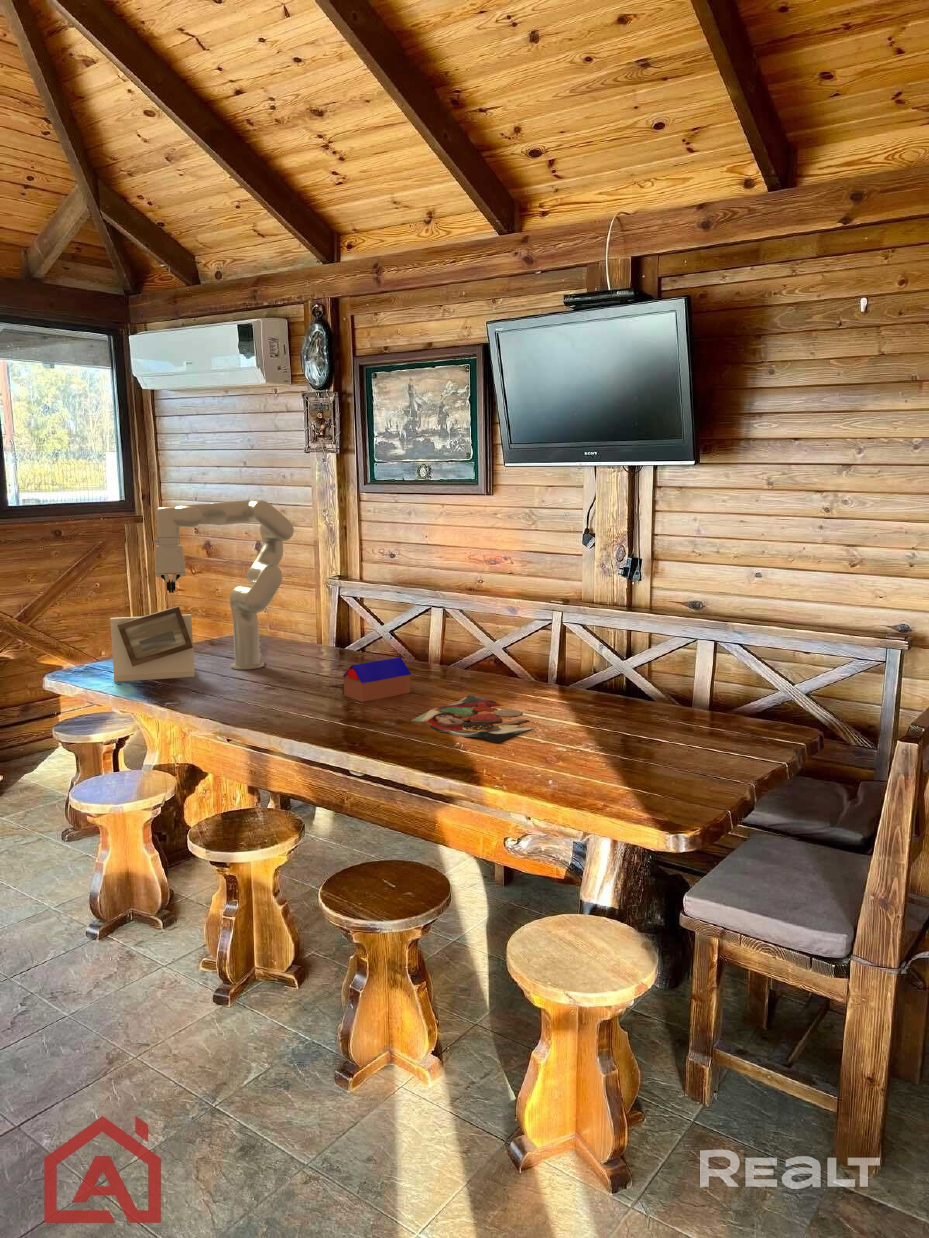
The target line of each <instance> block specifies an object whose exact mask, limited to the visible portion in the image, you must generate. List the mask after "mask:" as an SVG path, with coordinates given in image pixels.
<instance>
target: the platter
mask: <svg viewBox="0 0 929 1238" xmlns="http://www.w3.org/2000/svg"><path fill="white" fill-rule="evenodd" d="M496 707H505V706H504V705H503V704H501V703H498V702H495V701H493V700H491V699H489V698H485V697H479V696H476V695H470V694H469V695H467V696H465V697H464V698H462V699H460V700H458V701H455V702H453V703H450V704H444V705H441V706H437V707H435V708H432V709H430V710H428V711H426V712H424V713H423V714H420V715H418V716H417V717H415V718H413V719H411V720H410V721H412V722H423V723H424V722H425V723H430V728H431V729H432V730H434V731H435V732H437V733H445V734H446V733H447V734H449V735H453V736H455V737H461V738H463V737H465V738H480V739H484V740H486V741H491V742H494V743H497V744H499V743H501V742H503V741H505V740H508V739H510V738H512V737H514V736H516V735H517V736H518V734H521V733H523V732H525V731H529V730H534V728H532V727H528V726H522V725H523V724H526V723H530V722H531V721H530V720H528V719H524V718H523V719H516V720H515V719H514V720H512V721H511V720H510V721H507V722H506V721H505V722H503V719H502V718H508V719H509V718H516V717H517V718H518V717H522V716H523V714H524V713H523V712H522V711H520V710H515V709H508V708H506V709H505V708H504V709H503V708H502V709H499V708H496ZM525 710H526V711H529V712H537V713H539V711H538V710H532V709H525ZM481 712H486V713H481ZM478 713H481V714H478ZM497 724H498V725H497Z"/></svg>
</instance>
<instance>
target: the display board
mask: <svg viewBox="0 0 929 1238" xmlns="http://www.w3.org/2000/svg"><path fill="white" fill-rule="evenodd" d="M182 616H183V619H184V622H185V625H186V628H187V631H188V634H189V637H190V640H191V643H192V645H193V646H194V640H193V627H192V626H193V624H192V623H193V622H192V613H191V614H190V613H188V614H187V613H186V614H182ZM140 617H143V616H127V617H126V616H124V617H122V616H121V617H110V619H109V625H110V636H111V640H110V641H111V652H112V655H111V656H112V664H113V665H112V666H113V667H112V669H113V682H114V683H115V682H117V681H119V682H131V681H132V682H133V681H134V682H135V681H146V680H148V681H149V680H162V679H163V680H164V679H176V678H177V679H179V678H180V679H181V678H182V679H183V678H194V677H195V675H196V674H195V672H196V670H195V660H194V659H195V658H194V656H195V655H194V647H193V648H191V649H187V650H184V651H181V652H178V653H175V654H171V655H168V656H165V657H162V658H159V659H155V660H152V661H149V662H146V663H143V664H139V665H136V666H133V667H132V664H131V661H130V659H129V656H128V653H127V650H126V648H125V645H124V642H123V639H122V637H121V634H120V631H119V628H118V626H117V625H118V624H120V623H123V622H126V621H130V620H133V619H136V618H140ZM117 683H118V682H117Z"/></svg>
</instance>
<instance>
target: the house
mask: <svg viewBox="0 0 929 1238" xmlns="http://www.w3.org/2000/svg"><path fill="white" fill-rule="evenodd" d="M411 675H412V673H411V671H410V670H409V667H408V666H407V665H406V663H405V662H404V660H403V659H402V657H401V656H400V657H395V658H387V659H382V660H376V661H369V662H364V663H363V662H362V663H357V664H351V666H350V667H349V668H348V669H347V671H346V672H345V673H344V674H343V676H342V677H343V689H344V691H343V693H344V694H343V696H345V697H348V698H350V699H352V700H353V699H354V700H357V701H359V702H361V703H363V702H369V701H376V700H380V699H385V698H390V697H394V696H395V697H396V696H400V695H404V694H409V693H411Z"/></svg>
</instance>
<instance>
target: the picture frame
mask: <svg viewBox="0 0 929 1238" xmlns="http://www.w3.org/2000/svg"><path fill="white" fill-rule="evenodd" d="M182 615H183V614H182V612H181V608H180V605H177V606H173V607H170V608H166V609H164V610H160V611H157V612H153V613H150V614H147V615H144V616H143V617H142V616H139V617H140V618H136V619H133V620H130V621H126V622H123V623H120V624H118V625H117V626H118V628H119V631H120V634H121V637H122V639H123V642H124V645H125V648H126V650H127V653H128V656H129V659H130V661H131V664H132V667H133V666H136V665H139V664H143V663H146V662H149V661H152V660H155V659H159V658H162V657H165V656H168V655H171V654H175V653H178V652H181V651H184V650H187V649H191V648H193V649H194V644H193V645H192V643H191V640H190V637H189V634H188V631H187V628H186V625H185V622H184V619H183V616H182Z"/></svg>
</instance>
